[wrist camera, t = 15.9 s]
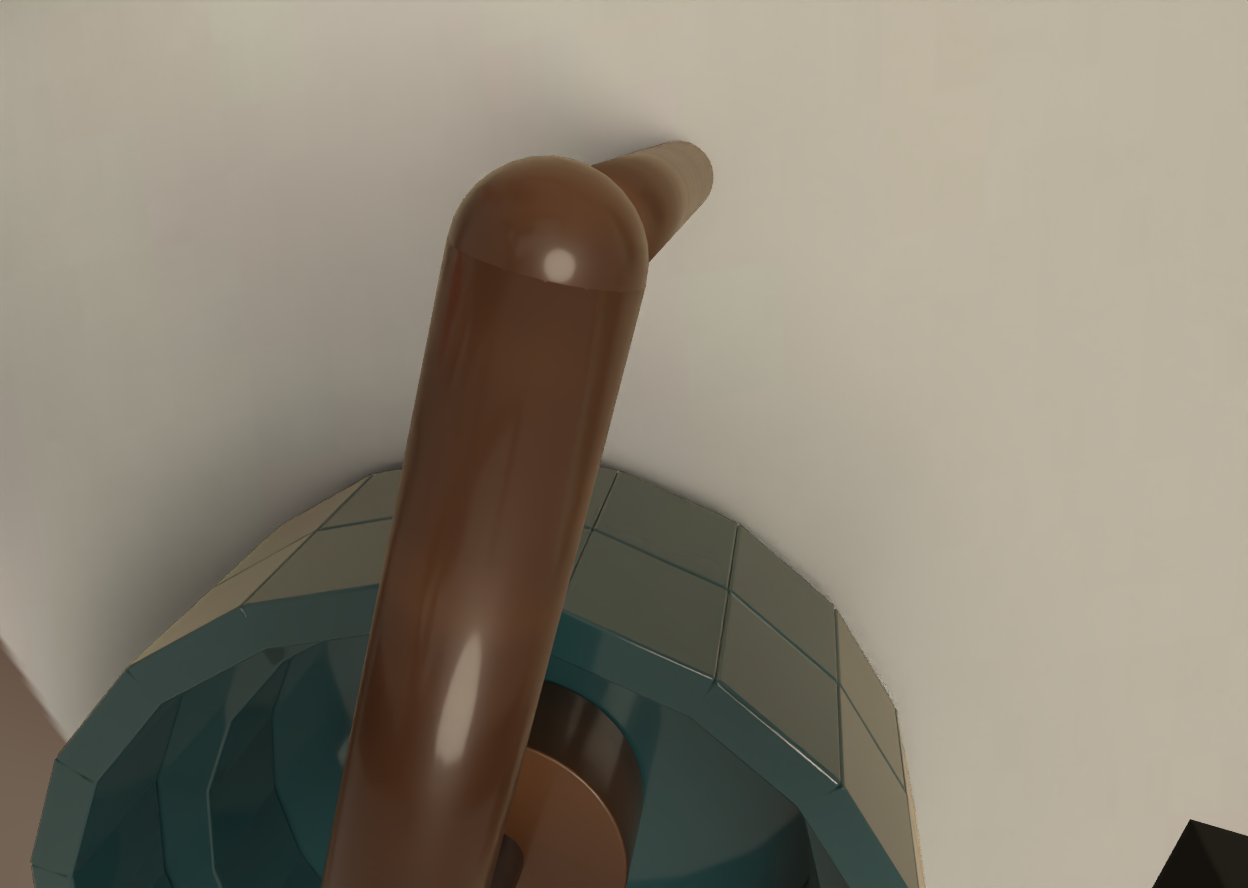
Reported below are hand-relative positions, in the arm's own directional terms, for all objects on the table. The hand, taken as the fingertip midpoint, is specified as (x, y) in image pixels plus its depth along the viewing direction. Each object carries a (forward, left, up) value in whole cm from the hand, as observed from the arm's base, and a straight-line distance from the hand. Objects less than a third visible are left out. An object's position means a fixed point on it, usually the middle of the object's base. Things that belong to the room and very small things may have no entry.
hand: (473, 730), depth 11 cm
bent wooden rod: (+2, -2, -10) cm, 11 cm away
